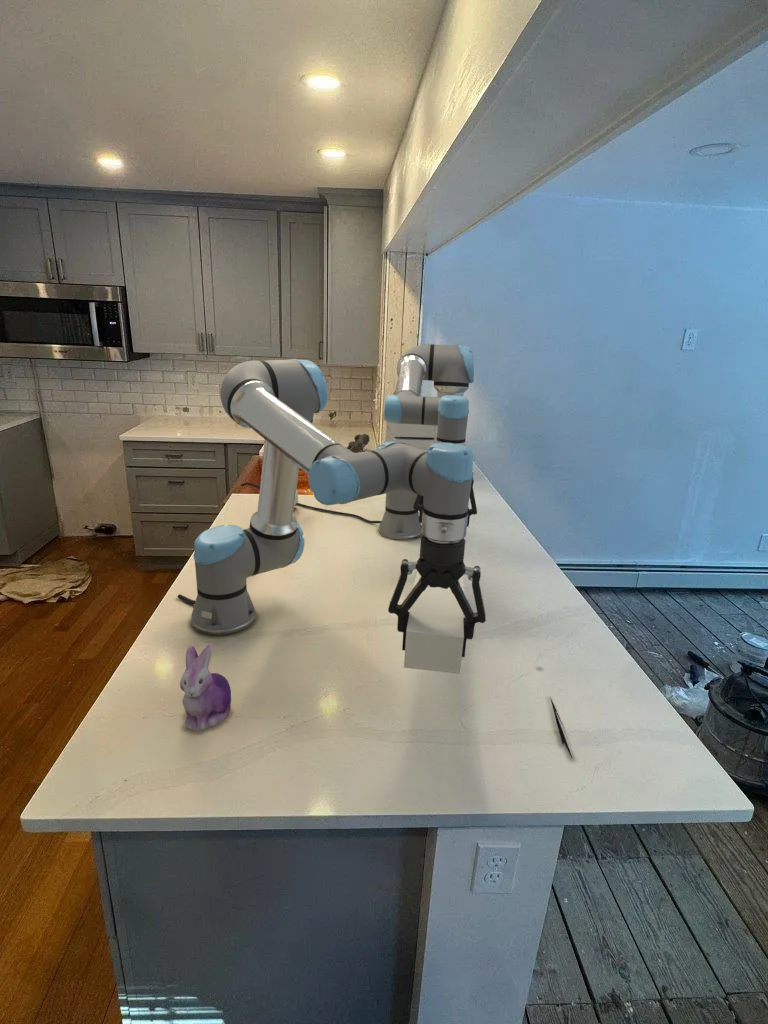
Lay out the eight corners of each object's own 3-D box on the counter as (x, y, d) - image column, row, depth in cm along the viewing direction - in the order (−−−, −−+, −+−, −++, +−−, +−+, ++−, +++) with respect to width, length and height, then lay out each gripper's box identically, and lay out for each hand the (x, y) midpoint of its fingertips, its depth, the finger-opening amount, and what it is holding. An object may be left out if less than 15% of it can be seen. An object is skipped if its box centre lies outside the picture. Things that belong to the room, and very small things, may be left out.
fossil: (345, 440, 316) (366, 424, 311) (356, 453, 319) (377, 438, 314) (339, 453, 297) (361, 437, 292) (350, 467, 300) (373, 452, 295)
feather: (540, 672, 128) (545, 666, 127) (572, 762, 101) (579, 755, 101) (533, 668, 128) (539, 662, 127) (564, 758, 101) (571, 750, 100)
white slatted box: (382, 463, 289) (386, 382, 275) (445, 464, 293) (451, 384, 279) (390, 482, 257) (394, 392, 243) (460, 483, 261) (468, 394, 247)
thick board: (426, 528, 162) (427, 504, 159) (460, 531, 161) (462, 507, 158) (403, 667, 99) (406, 631, 96) (459, 674, 98) (463, 637, 95)
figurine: (187, 740, 102) (180, 669, 97) (178, 706, 110) (171, 639, 105) (239, 725, 106) (236, 656, 101) (227, 693, 115) (223, 628, 109)
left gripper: (374, 538, 93) (369, 654, 101) (512, 551, 91) (496, 668, 98) (380, 522, 100) (375, 631, 108) (509, 533, 98) (494, 644, 105)
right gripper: (405, 456, 146) (400, 536, 153) (493, 463, 143) (484, 544, 151) (408, 449, 153) (403, 526, 160) (492, 456, 150) (483, 533, 158)
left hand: (433, 649), depth 103 cm, fingers closed on thick board, 10 cm apart
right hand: (442, 535), depth 156 cm, fingers closed on thick board, 10 cm apart
